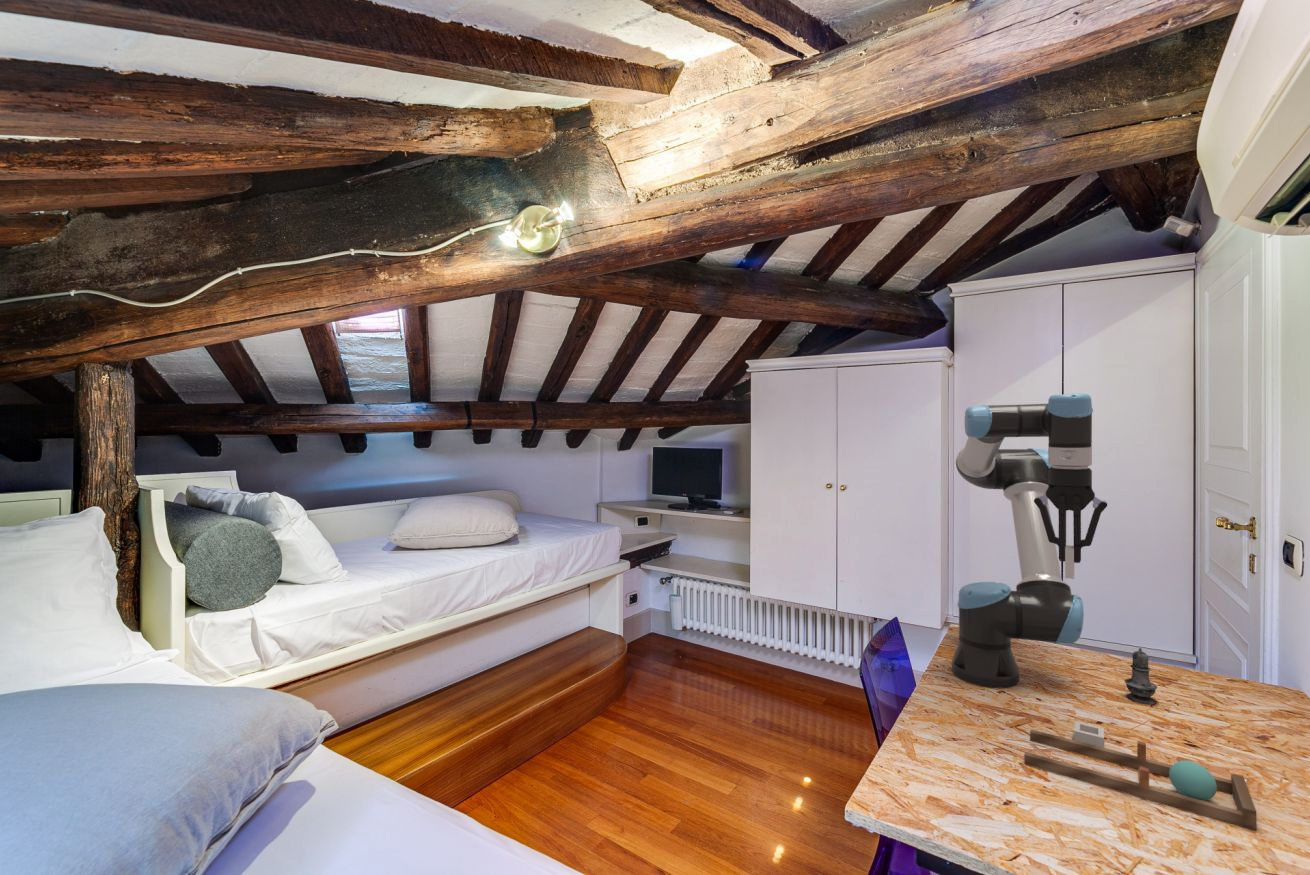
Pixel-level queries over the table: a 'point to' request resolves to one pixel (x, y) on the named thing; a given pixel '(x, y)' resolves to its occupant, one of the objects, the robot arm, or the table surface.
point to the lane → (1144, 779)
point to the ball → (1192, 780)
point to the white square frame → (1089, 734)
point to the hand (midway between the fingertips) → (1069, 576)
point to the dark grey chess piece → (1140, 680)
